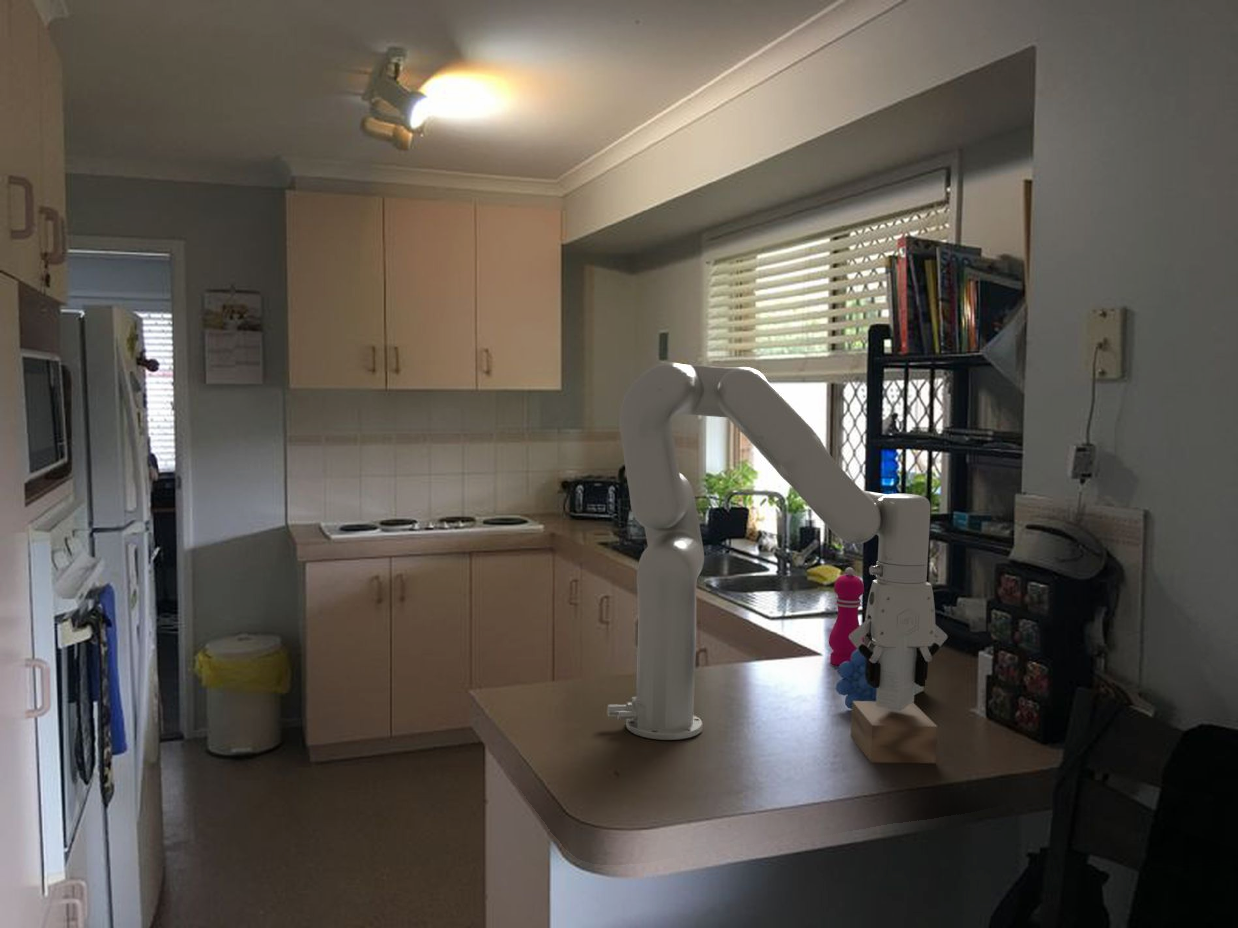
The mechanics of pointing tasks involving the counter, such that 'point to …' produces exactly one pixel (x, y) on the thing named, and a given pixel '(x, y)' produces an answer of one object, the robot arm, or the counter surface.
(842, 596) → the pepper mill
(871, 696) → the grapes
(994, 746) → the counter surface
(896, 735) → the wooden block
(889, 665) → the skincare box
